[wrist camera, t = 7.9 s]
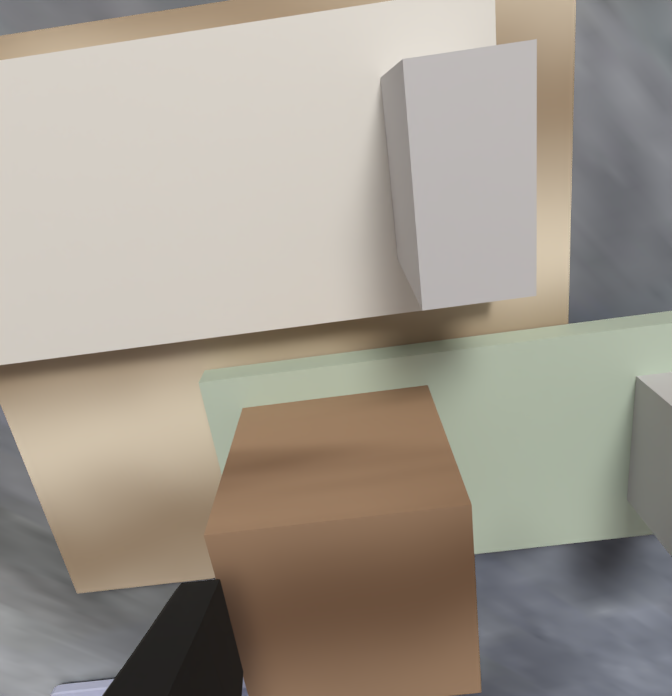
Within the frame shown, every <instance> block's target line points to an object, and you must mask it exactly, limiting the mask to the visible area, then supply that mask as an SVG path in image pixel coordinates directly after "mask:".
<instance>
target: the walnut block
mask: <svg viewBox="0 0 672 696" xmlns="http://www.w3.org/2000/svg"><path fill="white" fill-rule="evenodd" d="M204 538H205V542H206V546H207V549H208V553H209V556H210V560H211V564H212V567H213V571H214V574H215V578H216V580H217V579H220V581H221V585H222V589H223V593H224V597H225V601H226V605H227V609H228V613H229V617H230V621H231V625H232V629H233V633H234V637H235V641H236V645H237V649H238V652H239V656H240V660H241V664H242V668H243V678H244V682H245V685H246V689H247V693H248V696H451V695H461V694H471V693H481V674H480V655H479V636H478V617H477V597H476V578H475V559H474V539H473V520H472V504H471V501H470V499H469V496H468V493H467V490H466V488H465V485H464V482H463V480H462V477H461V474H460V471H459V469H458V466H457V463H456V461H455V458H454V455H453V452H452V450H451V447H450V444H449V442H448V439H447V436H446V433H445V431H444V428H443V425H442V423H441V420H440V417H439V414H438V412H437V409H436V406H435V403H434V401H433V398H432V395H431V393H430V390H429V387H428V385H424V386H416V387H408V388H400V389H392V390H384V391H376V392H368V393H360V394H352V395H344V396H336V397H327V398H319V399H311V400H303V401H295V402H287V403H279V404H271V405H263V406H255V407H247V408H242V411H241V415H240V418H239V421H238V424H237V428H236V431H235V434H234V437H233V441H232V444H231V447H230V451H229V454H228V457H227V460H226V464H225V467H224V470H223V474H222V477H221V480H220V483H219V487H218V490H217V493H216V497H215V500H214V503H213V506H212V510H211V513H210V516H209V519H208V523H207V526H206V529H205V533H204Z"/></svg>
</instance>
